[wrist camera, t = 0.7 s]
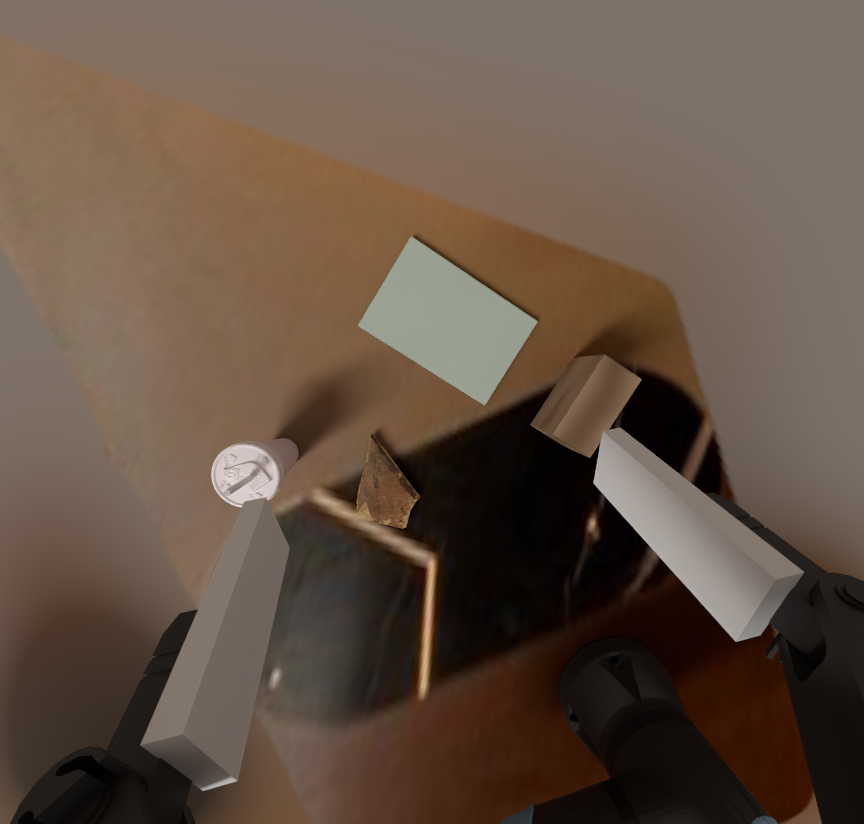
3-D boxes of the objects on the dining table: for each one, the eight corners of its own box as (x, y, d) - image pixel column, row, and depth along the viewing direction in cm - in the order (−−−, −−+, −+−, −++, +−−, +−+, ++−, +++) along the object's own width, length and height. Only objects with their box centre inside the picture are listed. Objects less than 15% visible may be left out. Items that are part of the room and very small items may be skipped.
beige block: (604, 378, 43) (641, 379, 36) (561, 444, 44) (589, 457, 37) (573, 357, 43) (604, 354, 36) (530, 424, 43) (552, 434, 37)
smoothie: (305, 482, 42) (253, 535, 28) (252, 473, 42) (173, 522, 28) (314, 432, 42) (265, 461, 28) (260, 422, 41) (184, 446, 27)
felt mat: (536, 322, 42) (537, 321, 41) (483, 405, 43) (484, 405, 42) (411, 238, 40) (411, 236, 39) (358, 326, 41) (357, 325, 40)
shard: (372, 431, 43) (371, 434, 41) (431, 444, 43) (432, 447, 42) (354, 513, 44) (351, 519, 42) (412, 525, 44) (412, 531, 43)
